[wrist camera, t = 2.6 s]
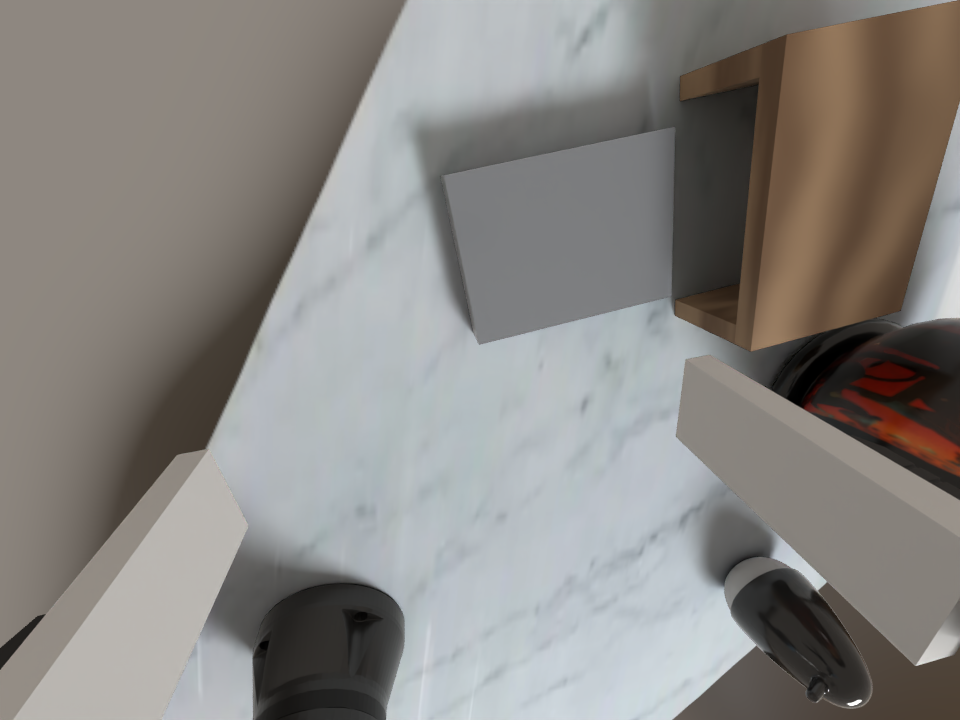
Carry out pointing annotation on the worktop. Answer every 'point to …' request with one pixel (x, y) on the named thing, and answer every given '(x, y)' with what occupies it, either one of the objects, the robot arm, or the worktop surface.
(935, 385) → the amphora vase
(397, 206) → the worktop surface
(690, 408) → the robot arm
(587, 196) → the slate board
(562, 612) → the worktop surface
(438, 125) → the worktop surface
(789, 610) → the pump dispenser
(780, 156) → the walnut shelf
